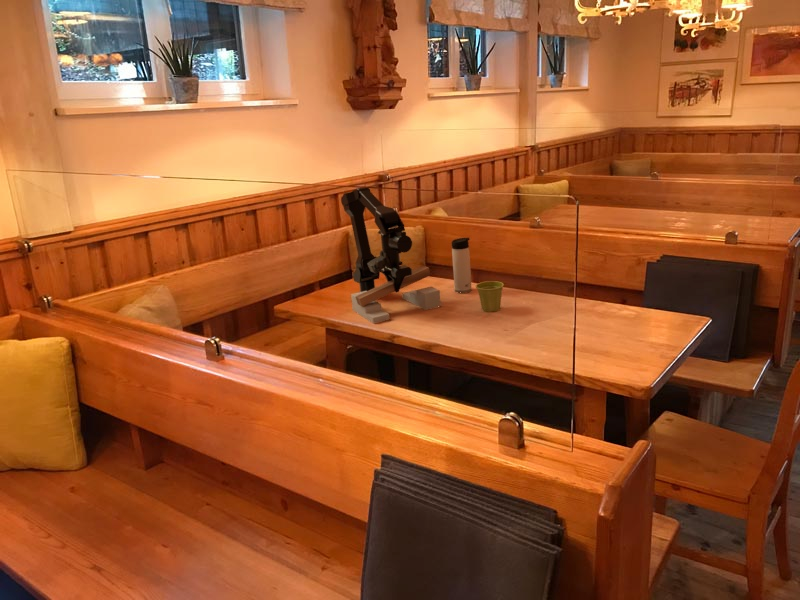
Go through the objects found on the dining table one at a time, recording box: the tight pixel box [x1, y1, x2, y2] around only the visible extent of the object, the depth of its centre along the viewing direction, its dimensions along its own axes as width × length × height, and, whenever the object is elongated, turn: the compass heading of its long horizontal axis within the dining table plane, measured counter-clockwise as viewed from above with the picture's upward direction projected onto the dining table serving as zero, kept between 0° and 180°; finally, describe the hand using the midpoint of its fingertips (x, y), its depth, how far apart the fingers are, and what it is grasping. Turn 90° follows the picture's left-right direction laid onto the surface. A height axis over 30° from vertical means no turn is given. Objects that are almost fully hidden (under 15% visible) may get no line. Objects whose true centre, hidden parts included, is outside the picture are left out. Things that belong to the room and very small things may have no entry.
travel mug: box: [451, 237, 473, 294], centre depth 248 cm, size 6×7×20 cm
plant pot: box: [475, 280, 505, 313], centre depth 228 cm, size 9×9×9 cm
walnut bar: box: [355, 265, 432, 306], centre depth 237 cm, size 4×28×3 cm, turn 116°
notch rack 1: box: [350, 291, 390, 324], centre depth 234 cm, size 18×6×6 cm, turn 26°
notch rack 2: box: [401, 286, 442, 311], centre depth 242 cm, size 18×6×6 cm, turn 26°
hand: (394, 290), depth 237 cm, fingers closed on walnut bar, 3 cm apart
